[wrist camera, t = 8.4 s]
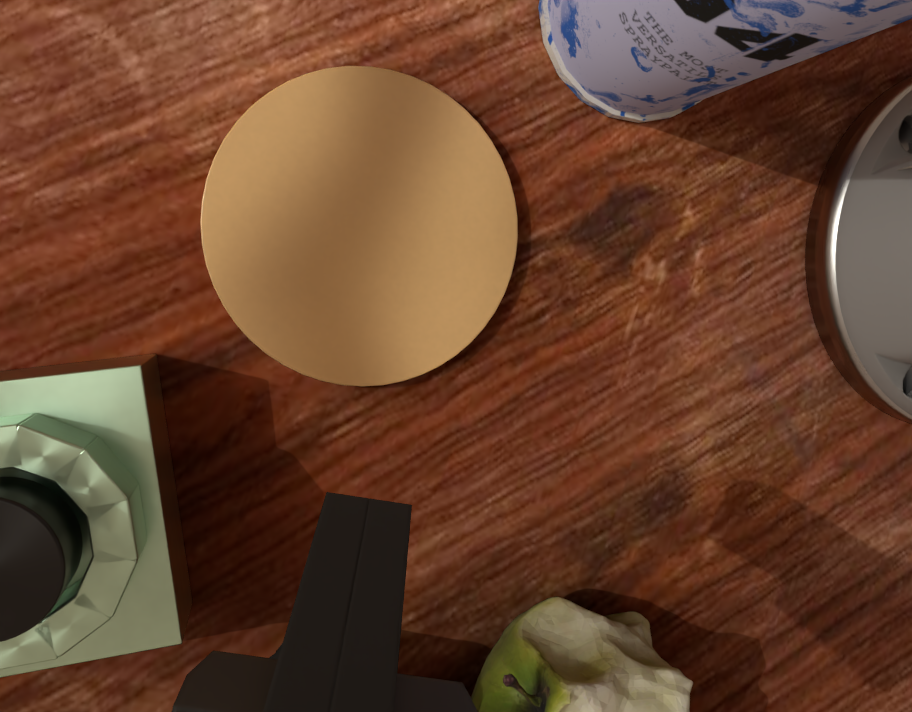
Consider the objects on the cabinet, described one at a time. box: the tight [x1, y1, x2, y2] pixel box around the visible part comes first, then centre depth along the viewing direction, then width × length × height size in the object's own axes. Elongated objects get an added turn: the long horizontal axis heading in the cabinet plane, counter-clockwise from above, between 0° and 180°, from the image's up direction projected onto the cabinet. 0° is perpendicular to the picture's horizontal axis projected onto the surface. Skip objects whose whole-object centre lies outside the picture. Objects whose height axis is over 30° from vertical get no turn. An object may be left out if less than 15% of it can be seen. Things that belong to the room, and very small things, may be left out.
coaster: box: [201, 66, 518, 387], centre depth 28 cm, size 11×11×1 cm
